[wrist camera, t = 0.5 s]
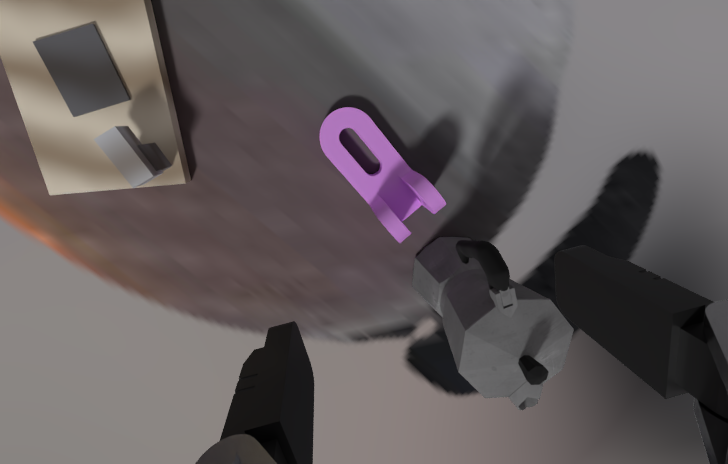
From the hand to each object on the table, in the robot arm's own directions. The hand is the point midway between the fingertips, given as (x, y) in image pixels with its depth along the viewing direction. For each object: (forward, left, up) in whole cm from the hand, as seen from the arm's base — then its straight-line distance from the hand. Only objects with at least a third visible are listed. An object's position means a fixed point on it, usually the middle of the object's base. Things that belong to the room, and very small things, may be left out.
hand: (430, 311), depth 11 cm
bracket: (-1, +2, -28) cm, 28 cm away
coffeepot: (+11, +10, -28) cm, 31 cm away
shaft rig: (-11, -22, -27) cm, 37 cm away
